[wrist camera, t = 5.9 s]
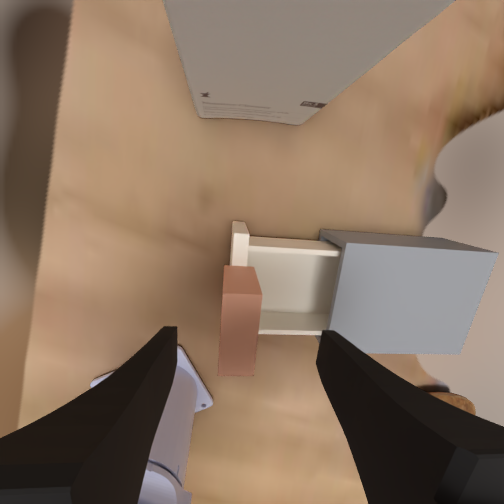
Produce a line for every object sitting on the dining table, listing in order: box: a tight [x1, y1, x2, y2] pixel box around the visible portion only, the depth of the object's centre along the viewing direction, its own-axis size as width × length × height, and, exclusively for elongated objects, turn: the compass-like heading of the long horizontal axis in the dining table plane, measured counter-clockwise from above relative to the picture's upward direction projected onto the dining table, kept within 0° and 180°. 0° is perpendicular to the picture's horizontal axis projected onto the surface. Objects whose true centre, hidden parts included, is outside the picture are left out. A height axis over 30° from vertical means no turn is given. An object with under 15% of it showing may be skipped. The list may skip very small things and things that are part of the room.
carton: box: [315, 229, 498, 354], centre depth 21 cm, size 12×9×5 cm
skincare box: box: [163, 0, 455, 125], centre depth 11 cm, size 8×6×15 cm
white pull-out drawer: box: [218, 221, 342, 376], centre depth 18 cm, size 13×9×9 cm
